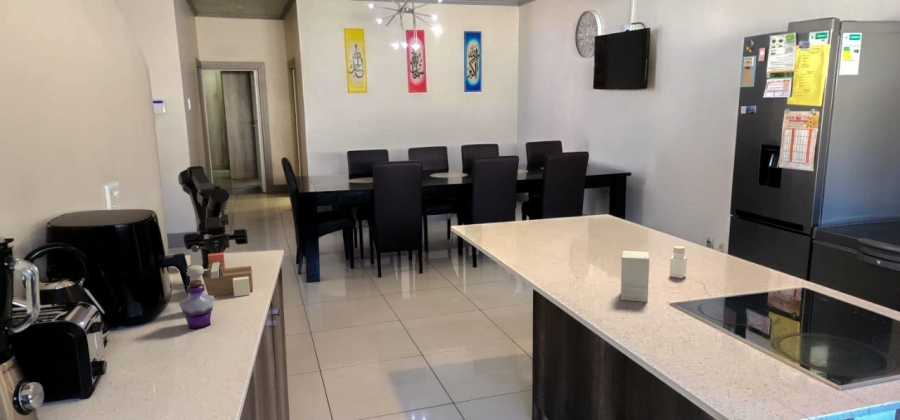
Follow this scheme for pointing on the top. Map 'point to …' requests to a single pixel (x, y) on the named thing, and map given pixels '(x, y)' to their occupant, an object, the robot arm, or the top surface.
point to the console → (225, 279)
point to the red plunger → (216, 263)
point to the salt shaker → (196, 275)
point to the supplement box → (635, 276)
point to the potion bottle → (197, 306)
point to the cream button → (241, 286)
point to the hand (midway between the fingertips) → (217, 261)
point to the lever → (196, 256)
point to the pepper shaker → (678, 263)
